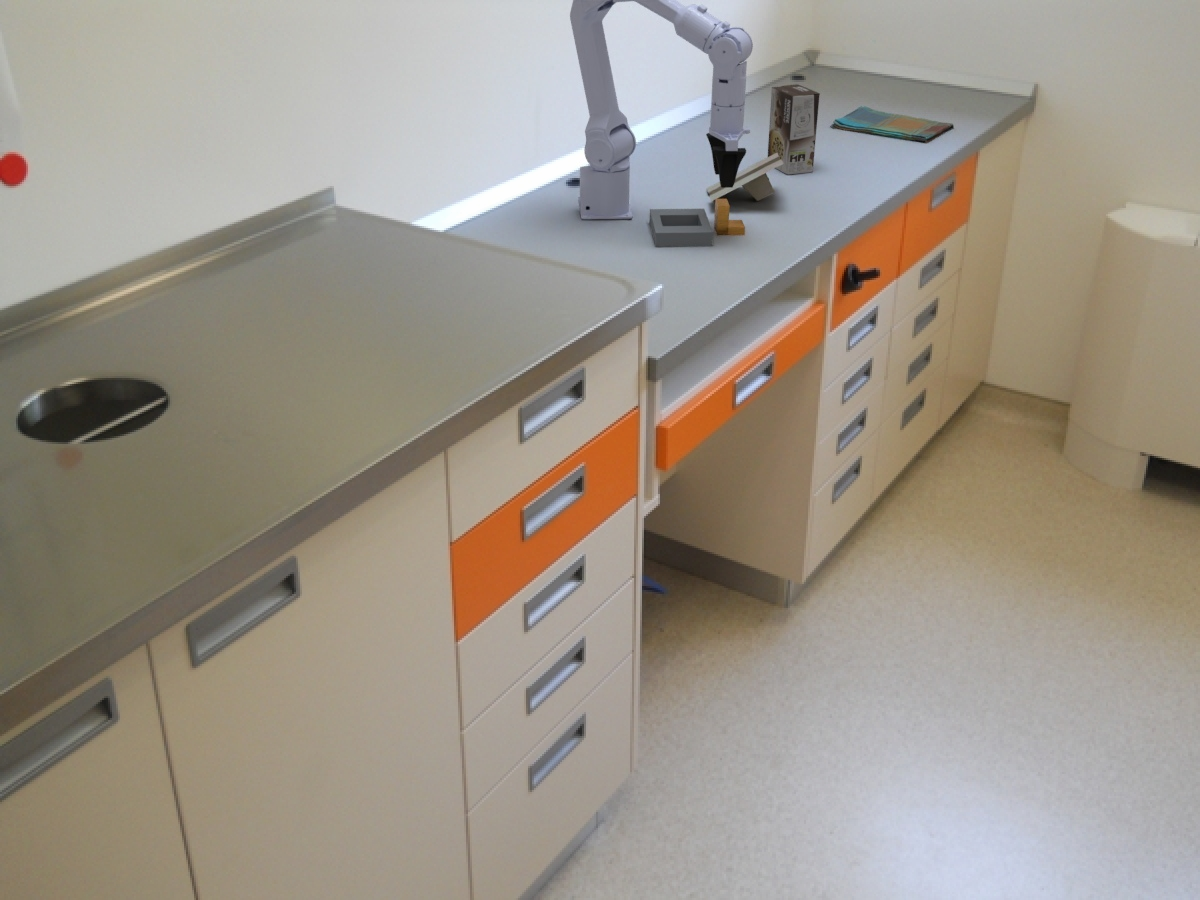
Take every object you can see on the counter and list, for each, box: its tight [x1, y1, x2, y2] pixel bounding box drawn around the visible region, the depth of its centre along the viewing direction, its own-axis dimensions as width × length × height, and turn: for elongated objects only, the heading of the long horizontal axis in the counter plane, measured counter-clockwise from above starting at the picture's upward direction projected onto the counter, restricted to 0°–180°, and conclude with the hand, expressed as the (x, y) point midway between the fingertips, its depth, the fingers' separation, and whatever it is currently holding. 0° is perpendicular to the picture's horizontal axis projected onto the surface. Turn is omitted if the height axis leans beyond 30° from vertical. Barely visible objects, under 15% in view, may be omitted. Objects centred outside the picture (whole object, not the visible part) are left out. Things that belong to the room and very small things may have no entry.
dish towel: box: [829, 105, 955, 145], centre depth 293 cm, size 17×23×2 cm
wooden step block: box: [713, 198, 746, 236], centre depth 228 cm, size 5×4×6 cm
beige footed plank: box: [706, 153, 783, 202], centre depth 244 cm, size 16×9×15 cm
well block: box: [648, 208, 714, 248], centre depth 228 cm, size 10×13×2 cm
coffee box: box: [767, 83, 821, 176], centre depth 261 cm, size 9×6×16 cm
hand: (723, 180), depth 225 cm, fingers open, 7 cm apart
